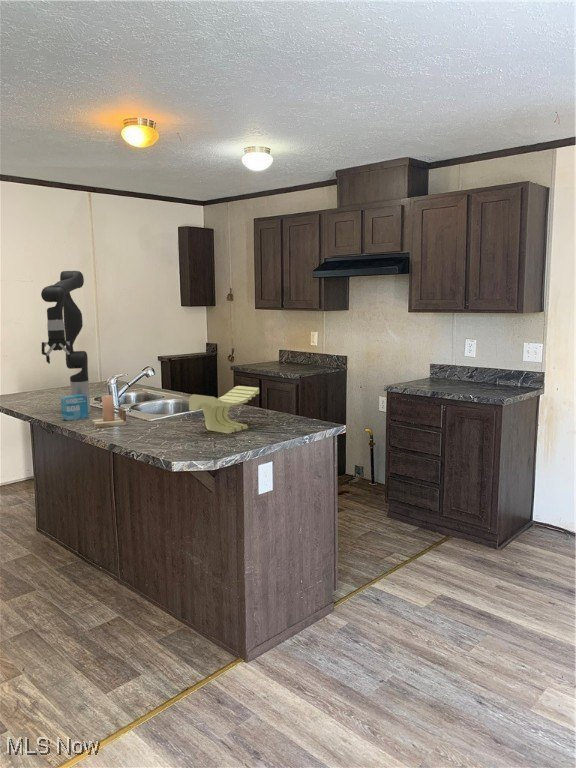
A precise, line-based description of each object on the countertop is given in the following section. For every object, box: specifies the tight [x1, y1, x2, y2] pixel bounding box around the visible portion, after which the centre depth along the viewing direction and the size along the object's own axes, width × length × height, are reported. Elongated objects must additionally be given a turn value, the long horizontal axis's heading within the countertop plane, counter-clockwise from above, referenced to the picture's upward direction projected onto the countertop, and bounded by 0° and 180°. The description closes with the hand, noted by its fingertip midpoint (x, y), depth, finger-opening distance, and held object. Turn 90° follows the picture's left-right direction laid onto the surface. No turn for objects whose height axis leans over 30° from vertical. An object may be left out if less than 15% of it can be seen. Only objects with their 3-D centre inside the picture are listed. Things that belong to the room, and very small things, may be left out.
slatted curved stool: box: [188, 385, 260, 434], centre depth 271 cm, size 30×16×18 cm, turn 143°
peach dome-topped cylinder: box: [101, 394, 115, 421], centre depth 285 cm, size 5×5×12 cm
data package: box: [60, 394, 89, 422], centre depth 299 cm, size 12×4×12 cm, turn 133°
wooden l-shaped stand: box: [92, 406, 127, 429], centre depth 285 cm, size 12×14×7 cm
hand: (58, 362), depth 284 cm, fingers open, 8 cm apart
